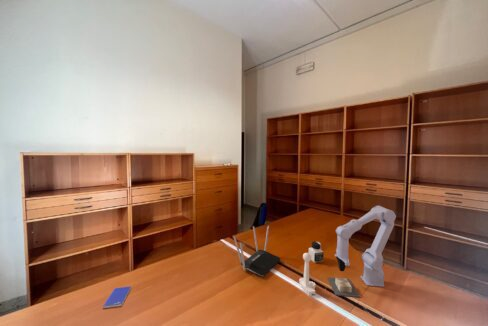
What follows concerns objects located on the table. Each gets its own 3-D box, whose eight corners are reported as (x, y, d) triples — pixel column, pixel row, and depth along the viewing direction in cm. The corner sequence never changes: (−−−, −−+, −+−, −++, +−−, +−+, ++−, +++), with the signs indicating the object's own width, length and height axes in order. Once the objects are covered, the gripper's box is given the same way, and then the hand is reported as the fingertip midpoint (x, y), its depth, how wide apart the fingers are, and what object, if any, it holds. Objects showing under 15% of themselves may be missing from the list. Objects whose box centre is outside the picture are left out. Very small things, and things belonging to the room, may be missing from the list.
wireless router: (258, 283, 112) (258, 249, 111) (227, 268, 126) (227, 238, 125) (284, 258, 139) (285, 230, 138) (256, 248, 153) (257, 222, 151)
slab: (346, 278, 112) (351, 287, 105) (346, 283, 112) (351, 292, 105) (335, 277, 113) (339, 286, 106) (335, 282, 113) (339, 291, 106)
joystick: (297, 282, 114) (298, 248, 113) (309, 280, 115) (310, 247, 114) (307, 296, 103) (308, 259, 102) (320, 294, 105) (322, 257, 103)
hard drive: (121, 303, 95) (131, 286, 108) (102, 306, 94) (114, 288, 106) (121, 306, 96) (131, 289, 108) (102, 309, 94) (114, 290, 106)
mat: (348, 279, 116) (348, 278, 116) (360, 297, 103) (360, 296, 103) (327, 278, 118) (327, 277, 118) (335, 295, 104) (335, 294, 104)
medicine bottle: (314, 263, 133) (314, 245, 133) (308, 257, 140) (308, 241, 139) (323, 261, 135) (324, 244, 135) (316, 256, 142) (317, 239, 141)
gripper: (331, 241, 121) (330, 263, 122) (340, 254, 106) (339, 278, 107) (343, 242, 120) (342, 263, 121) (354, 254, 106) (353, 279, 107)
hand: (341, 270), depth 114 cm, fingers closed
